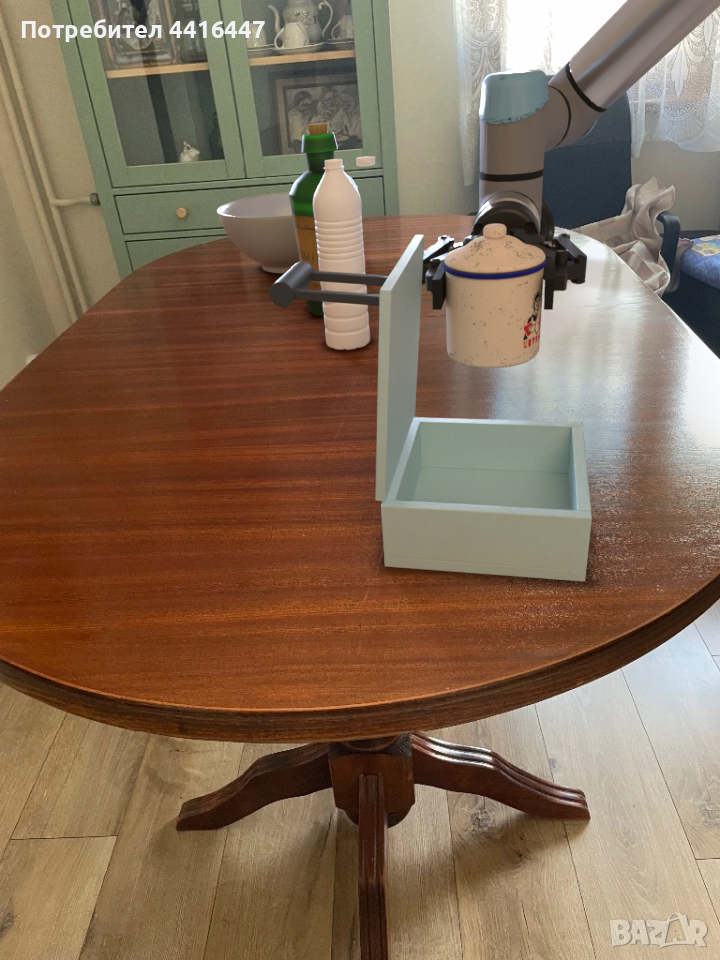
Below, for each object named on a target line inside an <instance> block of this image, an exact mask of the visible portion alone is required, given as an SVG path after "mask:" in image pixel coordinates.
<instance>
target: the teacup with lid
mask: <svg viewBox="0 0 720 960" xmlns="http://www.w3.org/2000/svg"><path fill="white" fill-rule="evenodd" d="M483 235H484V236H481V237H478V238H475V239H474V240H472V241H471V242H469V243H468V244H467V245H465V246H463V247H460V248H457V249H455V250H453V251H451V252H449V253H448V254H447V256H446V257H445V260H444V263H443V268H444V270H445V271H446V299H445V311H446V312H445V313H446V315H445V316H446V352H447V355H448V356H449V358H451V359H452V360H453V361H454V362H457V364H461V365H463V366H467V367H472V368H478V369H503V368H504V369H505V368H511V367H516V366H519V365H522V364H525V363H528V362H529V361H531V360H533V359H535V357H536V356H537V355H538V354H539V352H540V347H541V331H542V329H541V328H542V310H543V309H542V308H543V293H544V290H543V289H544V280H543V273H544V267H545V266H546V264H547V259H546V256H545V254H544V252H543V251H542V250H541V249H540V248H538V247H536V246H533V245H529V244H525V243H523V242H522V241H520V240H519V239H517V238H515V237H513V236H509V235H506V226H505V225H503V224H488V225H486V226H485V227H484V229H483Z"/></svg>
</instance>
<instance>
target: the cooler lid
mask: <svg viewBox="0 0 720 960" xmlns="http://www.w3.org/2000/svg"><path fill="white" fill-rule="evenodd" d="M424 251H425V235H424V234H414V236H413V238H412V239H411V240H410V242H409V244H408V245H407V247H406V248H405V250H404V252H403V253H402V254H401V256H400V258H399V259H398V261H397V263H396V264H395V266H394V267H393V269H392V270H391V272H390V273H389V275H383V274H367V273H366V274H356V273H341V272H326V271H314V269H313V267H312V266H311V265H310V264H309V263H307V262H304V261H300V262H297V263H296V264H295V265H293V266H292V267H291V268H290V269H289V270H288V271H287V272H286V273H283V274H282V275H281V276H280V277H279V278H278V279H277V280H276V281H275V282H274V283H273V284H271V286H270V288H269V291H268V295H269V299H270V301H271V302H272V303H273V305H275V306H276V307H278V308H281V309H282V308H283V309H285V308H288V307H290V306H292V305H293V304H294V302H296V301H306V302H307V301H321V302H334V303H347V304H361V305H368V306H376V307H379V308H378V350H377V351H378V352H377V354H378V355H377V394H376V395H377V397H376V403H377V404H376V445H375V446H376V449H375V450H376V451H375V493H374V494H375V497H374V498H375V501H376V502H382V501H385V500H386V497H387V494H388V491H389V488H390V485H391V483H392V480H393V477H394V474H395V471H396V468H397V465H398V462H399V459H400V456H401V453H402V450H403V447H404V444H405V441H406V438H407V435H408V432H409V430H410V427H411V424H412V421H413V418H414V417H415V415H416V404H417V385H418V367H419V365H418V364H419V348H420V347H419V346H420V327H421V307H422V288H423V285H422V271H423V252H424ZM313 281H320V282H335V283H349V284H363V285H366V286H379V287H380V288H379V294H378V293H367V294H366V293H352V292H338V291H324V290H311V289H306V288H307V287H308V286H309V285H310V284H311V283H312V282H313Z"/></svg>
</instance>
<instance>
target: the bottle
mask: <svg viewBox="0 0 720 960" xmlns="http://www.w3.org/2000/svg"><path fill="white" fill-rule="evenodd" d="M305 126H306V128H307V133H303V134H302V138H301V140H302V141H301V149H300V153H303V154H305V159H306V164H307V165H306V166H307V169H308V170H306V171H304V172H303V173H302V174H301V175H299V177H298V178H297V179H296V180H295V181H294V182H293V184H292V186H291V189H290V190H289V192H290V193H289V198H290V204H291V210H292V216H293V222H294V228H295V234H296V240H297V246H298V252H299V258H300V261H304V262H307V263H309V264H310V265H311V266H312V267H313V269H314V271H319V262H318V257H319V256H318V249H317V237H316V230H315V226H316V225H315V218H314V212H313V197H314V194H315V192H316V189H317V187H318V185H319V183H320V181H321V179H322V177H323V175H324V173H325V169H324V167H325V160H330V159H335V151H337V150H338V149H339V147H338V143H337V139H336V136H335V132H334V131H329V122H313V123H307V124H306V125H305ZM346 175H347V176H348V178H349V179H350V180H351V182H352V183H353V184H354V186H355V187H356V189H357V190H358V191H359V189H358V185H357V184H356V182H355V180H354V179H353V178H352V177H351V176H350V175H348V174H347V173H346ZM306 289H311V290H322V287H321V283H320V281H313V282H312V283H311V284H310V285H309V286H308V287H307V288H306ZM306 304H307V311H308V312H309V313H310V314H313V315H314V316H317V317H322V318H324V312H323V302H321V301H307V300H306Z"/></svg>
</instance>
